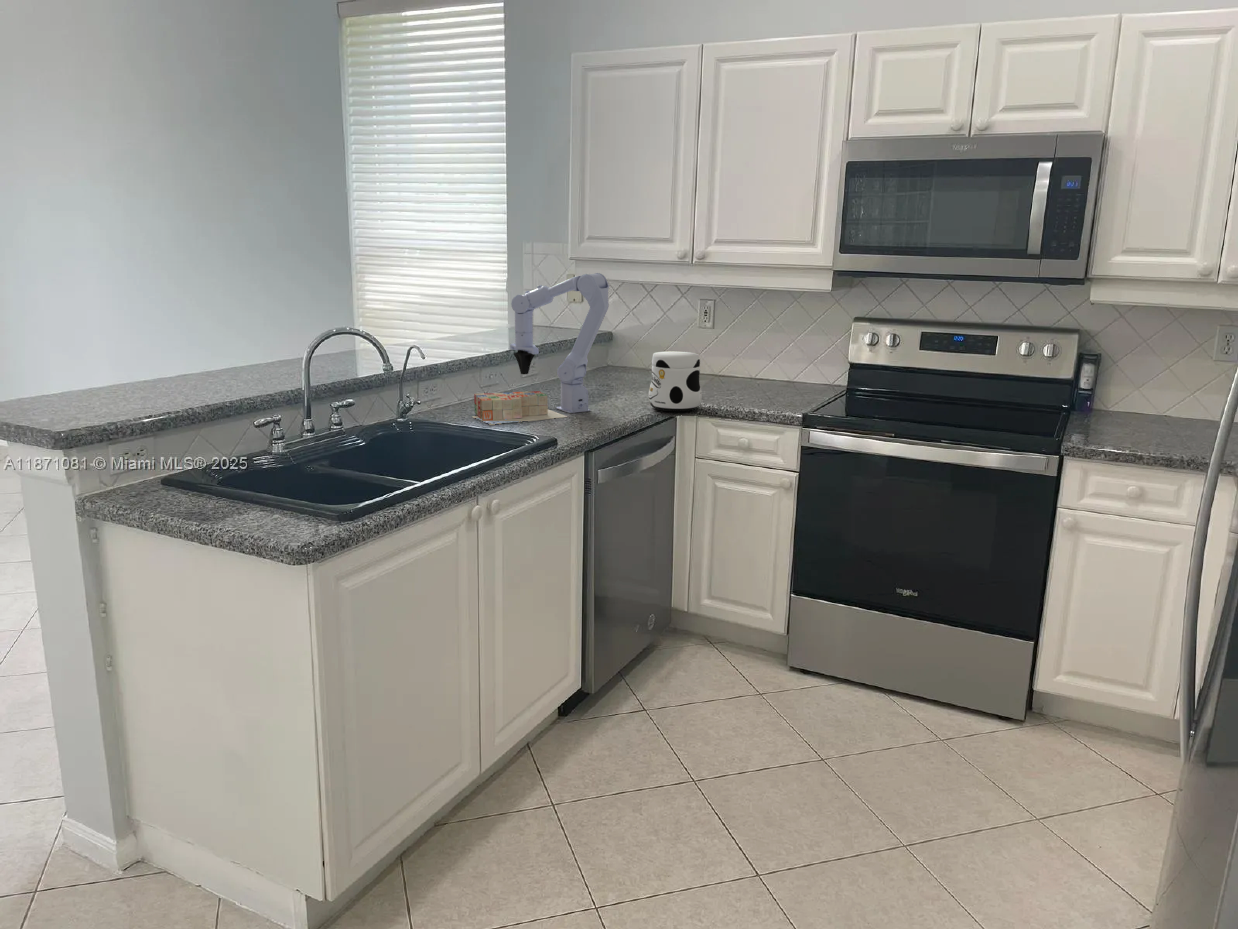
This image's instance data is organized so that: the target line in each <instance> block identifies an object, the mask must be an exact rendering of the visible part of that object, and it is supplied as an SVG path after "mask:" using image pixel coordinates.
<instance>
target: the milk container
mask: <svg viewBox="0 0 1238 929" xmlns="http://www.w3.org/2000/svg"><path fill="white" fill-rule="evenodd" d="M700 373H701V355H700V354H699V353H695V352H692V351H691V352H690V351H678V350H677V351H676V350H675V351H672V350H671V351H668V350H667V351H658V352H657V351H656V352H654V353H652V357H651V381H650V386H649V390H648V401H649V402H648V403H649V405H650V406H651V407H652V408H654V409H657V410H660V411H666V412H687V411H694V410H696V409H698V408H699V407H700V406H701V403H702V398H703V392H702V387H701V383H700V381H701V380H700V378H701V377H700V376H701V374H700Z"/></svg>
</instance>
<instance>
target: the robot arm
mask: <svg viewBox="0 0 1238 929" xmlns="http://www.w3.org/2000/svg"><path fill="white" fill-rule="evenodd" d="M609 289H610V284H609V282H608V280H607V278H606V276H605V275H604V274H602V273H600V272H595V273H589V274H588V273H585V274H582V275H576V276H572V277H570V278H568V279H566V280H564V281H562V282H559V283H557V284H555V285H553V286H551V287H550V286H547V285H542V284H540V285H536V288H535V289H533V290H526V291H525V292H524V294H517V295H515V296H514V297H513V298H512V299H511V303H510V305H511V308H512V310H513V311H514V336H515V337H514V340H515V341H514V342H513V343H510V344H509V349H510V350H511V351H512V350H513V351H514V350H515V351H517V352H513V355H514V357H515V359H516V362H517V364H518V369H519V372H520V375H528V374H529V371H530V368H531V364H532V361H533V359H534V357H535V355H539V354H540V352H539V349H540V348H539V347H537V346H536V345H535V344H534V333H533V332H534V329H533V327H534V326H533V325H534V324H533V323H534V322H533V320H534V319H533V318H534V317H533V316H534V310H536V309H539V308H541V307H543V306H546V305H548V304H551V303H552V302H553V300H554V298H555V297H558V296H560V295H563V294H566V293H569V292H572V291H574V292H579V293H580V294H581V296H582V297H583V298H585V299H584V300H586V301H587V304H588V306H589V310H588V311H587V315H586V316H585V319H584V321H583V323H582V326H581V327H580V331H579V333H578V335H577V337H576V340H575V342H574V345H573V347H572V349H571V351H570V353H568V354H567V356H566V357H565V359H564V360H563V361H562V363H561V364H560V365H559V366H558V367H557V370H556V375H557V377H558V379H559V381H560V405H559V406H555V409H556V410H560V411H562V412H565V413H568V414H575V413H584V412H591V409H589V390H588V388H587V387H586V386H584V377H585V376H586V374H587V366H588V363H589V360H588V355H589V352H590V351H591V349H592V346H593V343H594V341H595V339H596V337H597V335H598V333H599V331H600V329H601V325H602V324H603V321H604V319H605V317H606V315H607V312H608V310H609V306H610V304H609Z"/></svg>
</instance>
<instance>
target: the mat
mask: <svg viewBox="0 0 1238 929" xmlns="http://www.w3.org/2000/svg"><path fill="white" fill-rule="evenodd" d="M471 418H472V419H475V418H479V416H478V415H475V416H471ZM554 418H556V419H563V418H565V419H566V418H569V416H567V415H564V414H563V413H559V412H556V411H554V410H550V409H548V414H546V415H536V416H522V418H516V419H507V420H503V419H502V420H487V421H519V422H518V423H523V422H522V421H528V422H535V421H537V422H538V421H543V420H553V419H554ZM554 420H555V419H554ZM482 421H483V420H481V421H480V422H482ZM520 421H521V422H520ZM497 424H499V425H502V424H501V423H497ZM488 426H496V425H495V424H491V423H490V424H489V425H488Z"/></svg>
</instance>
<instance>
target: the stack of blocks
mask: <svg viewBox="0 0 1238 929" xmlns="http://www.w3.org/2000/svg"><path fill="white" fill-rule="evenodd" d="M473 394H474V395H473V398H474V399H473V400H474V402H473V403H474V414H475V416H479V418H480V419H482V420H483V421H487V420H502V419H503V420H505V419H516V418H522V416H536V415H546V414H548V410H549V408H548V407H549V405H548V401H549V400H548V395H547V394H546V393H544V392H542V391H540V390H539V391H538V390H537V391H534V390H533V391H511V392H485V393H482V392H481V393H473Z"/></svg>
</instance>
